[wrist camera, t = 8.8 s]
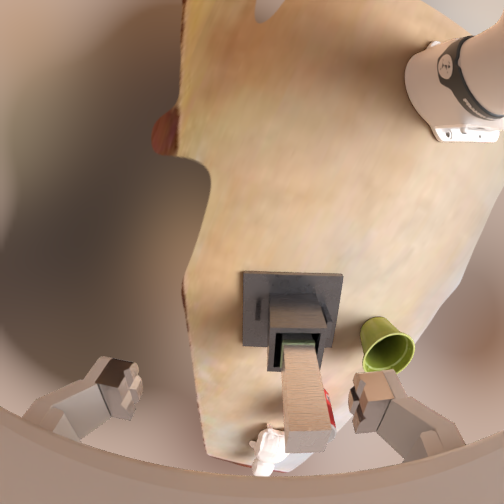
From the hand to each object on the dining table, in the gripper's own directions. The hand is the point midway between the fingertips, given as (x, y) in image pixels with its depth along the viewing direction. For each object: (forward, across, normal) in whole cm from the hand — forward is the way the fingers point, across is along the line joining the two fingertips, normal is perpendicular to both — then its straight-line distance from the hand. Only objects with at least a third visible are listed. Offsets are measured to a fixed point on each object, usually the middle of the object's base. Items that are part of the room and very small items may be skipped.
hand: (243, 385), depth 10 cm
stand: (+36, -5, +17) cm, 41 cm away
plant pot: (+37, -21, +22) cm, 48 cm away
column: (+29, -5, +18) cm, 35 cm away
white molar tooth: (+36, -3, +54) cm, 66 cm away
